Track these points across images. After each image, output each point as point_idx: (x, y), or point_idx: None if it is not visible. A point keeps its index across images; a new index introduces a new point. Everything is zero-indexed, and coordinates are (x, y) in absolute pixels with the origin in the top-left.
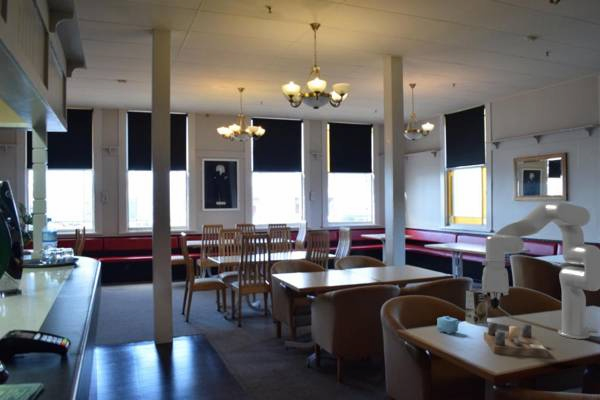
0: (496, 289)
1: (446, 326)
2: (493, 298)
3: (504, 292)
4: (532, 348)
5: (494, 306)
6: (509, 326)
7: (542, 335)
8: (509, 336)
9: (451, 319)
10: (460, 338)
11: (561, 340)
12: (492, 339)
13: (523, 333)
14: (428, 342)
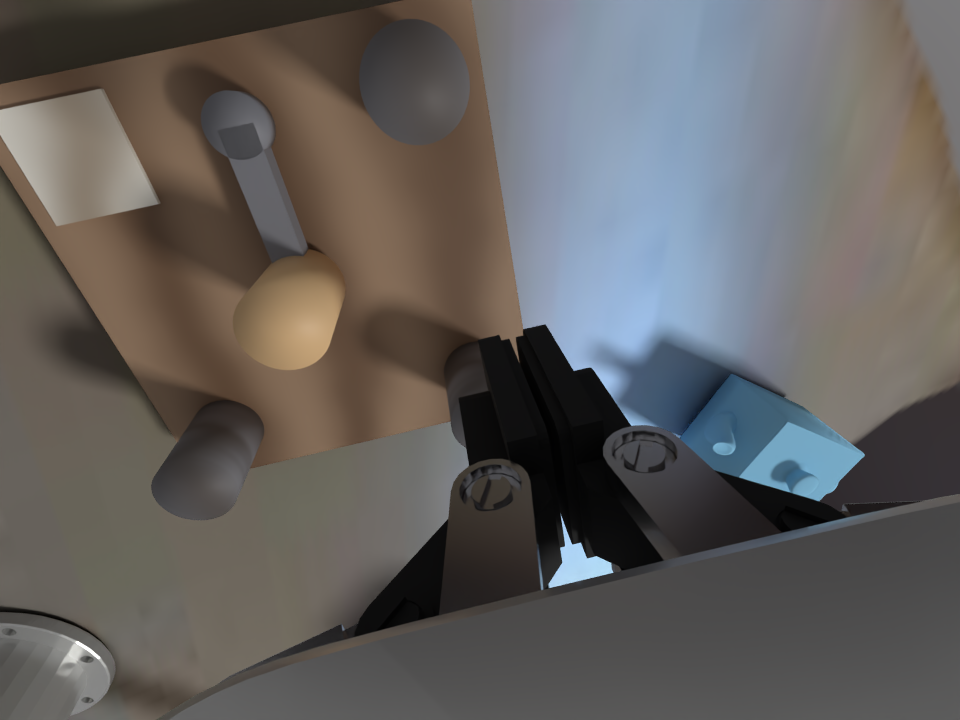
0: (708, 705)
1: (781, 406)
2: (610, 446)
3: (276, 662)
4: (104, 76)
5: (535, 340)
6: (329, 338)
7: (186, 588)
8: (339, 279)
9: (770, 468)
10: (674, 322)
11: (56, 551)
12: (478, 233)
13: (242, 424)
14: (928, 120)
